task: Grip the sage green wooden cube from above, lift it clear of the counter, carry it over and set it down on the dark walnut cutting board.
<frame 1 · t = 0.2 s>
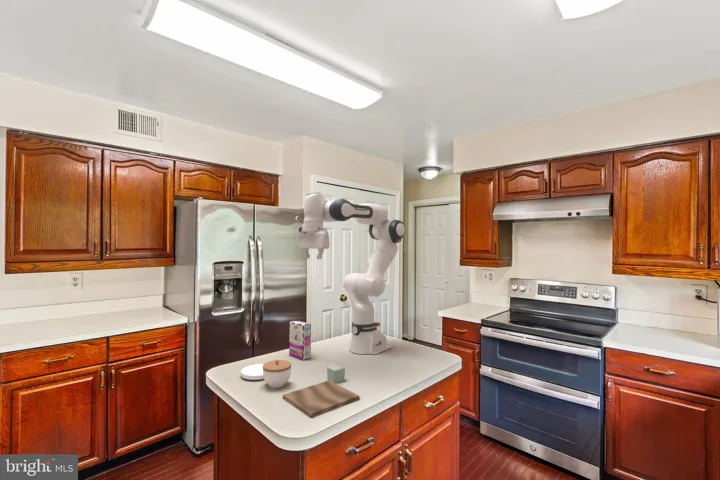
hand: (313, 258, 158), 47 cm above the worktop, tool pointing down, fingers open, 8 cm apart
lidded jar: (276, 385, 134), on the worktop
sage cube: (335, 380, 139), on the worktop
plastic lid: (258, 376, 144), on the worktop
cutting board: (320, 398, 122), on the worktop
candy bar box: (300, 357, 167), on the worktop
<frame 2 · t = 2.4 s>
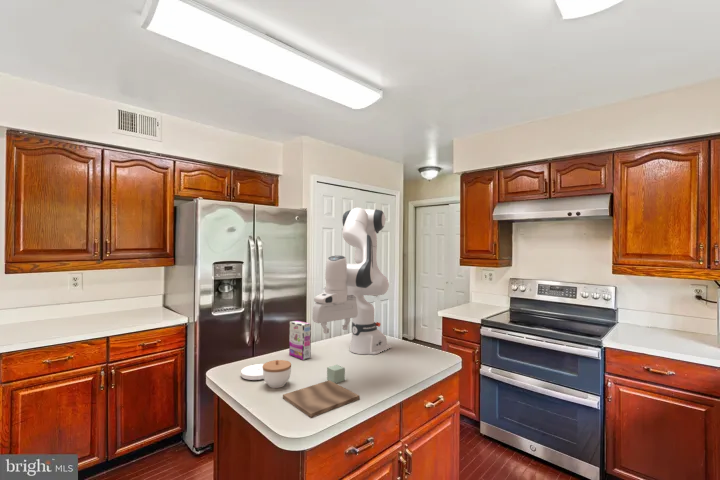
hand: (335, 331, 139), 19 cm above the worktop, tool pointing down, fingers open, 8 cm apart
nothing on the worktop moved.
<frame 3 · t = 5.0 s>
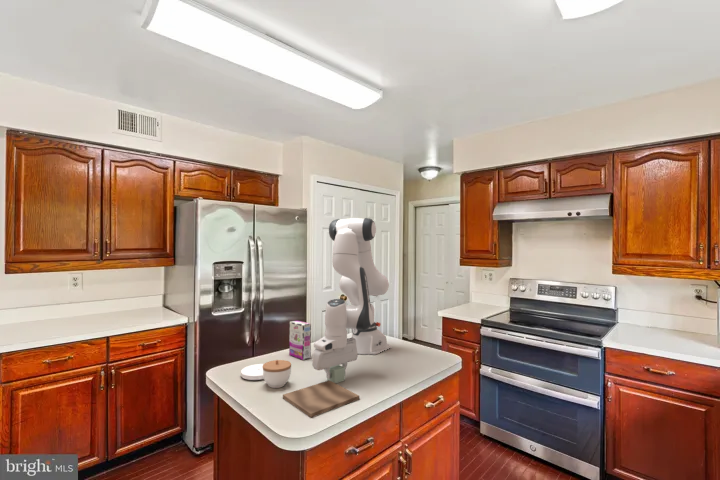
hand: (335, 375, 139), 2 cm above the worktop, tool pointing down, fingers closed on sage cube, 5 cm apart
sage cube: (335, 380, 139), on the worktop, touching gripper
everything else where it was.
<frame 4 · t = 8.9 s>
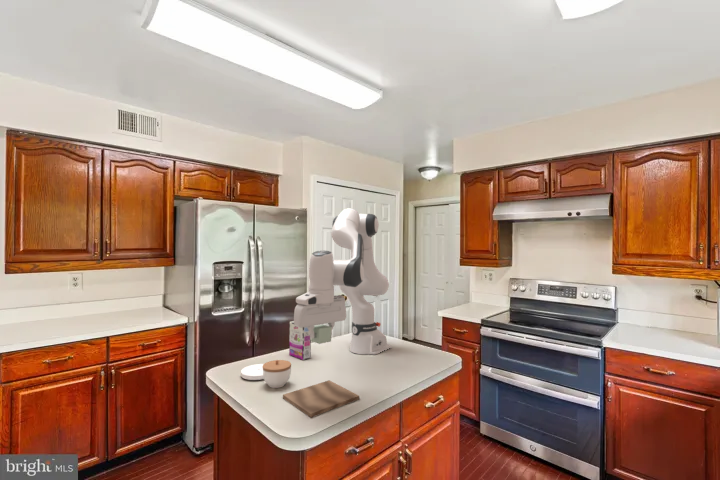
hand: (321, 336, 122), 22 cm above the worktop, tool pointing down, fingers closed on sage cube, 5 cm apart
sage cube: (321, 341, 122), point 20 cm above the worktop, touching gripper
everything else where it was.
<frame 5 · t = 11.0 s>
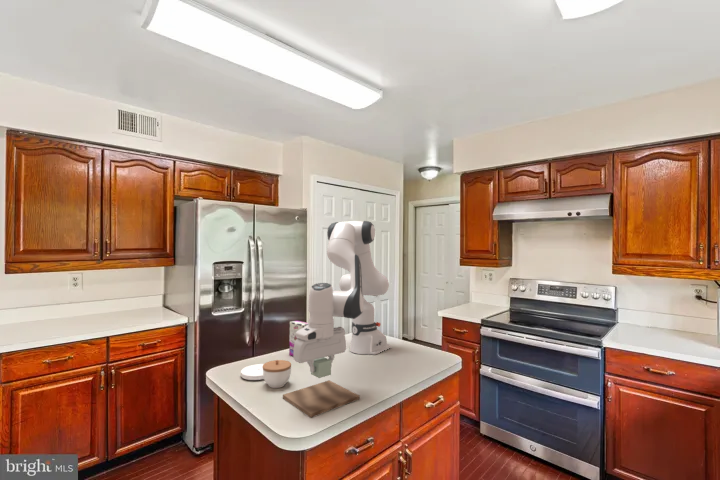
hand: (320, 369, 122), 10 cm above the worktop, tool pointing down, fingers closed on sage cube, 5 cm apart
sage cube: (321, 374, 122), point 8 cm above the worktop, touching gripper
everything else where it was.
when the fingers open (4 cm above the worktop, at t = 13.0 s): sage cube drops 2 cm, resting on cutting board.
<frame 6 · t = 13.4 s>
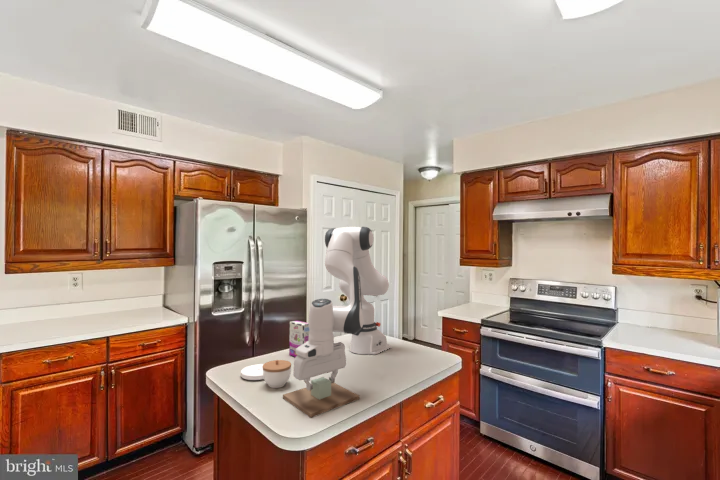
hand: (321, 386, 122), 4 cm above the worktop, tool pointing down, fingers open, 8 cm apart
sage cube: (321, 395, 122), point 1 cm above the worktop, touching cutting board
everything else where it was.
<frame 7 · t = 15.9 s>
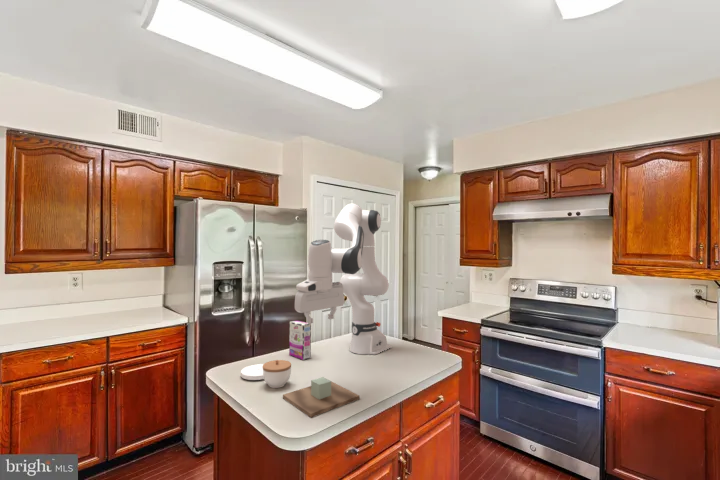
hand: (320, 321, 129), 26 cm above the worktop, tool pointing down, fingers open, 8 cm apart
nothing on the worktop moved.
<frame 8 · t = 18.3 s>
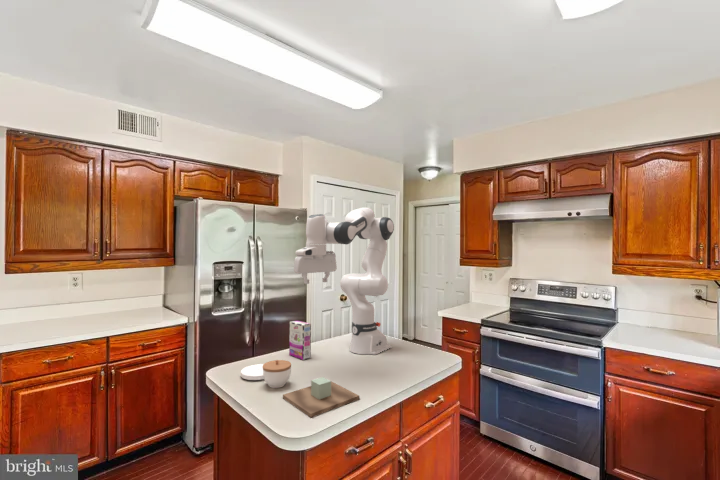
hand: (316, 282, 152), 37 cm above the worktop, tool pointing down, fingers open, 8 cm apart
nothing on the worktop moved.
at the end: sage cube inside the target area on the cutting board (0.1 cm from its centre), point 1.2 cm above the cutting board's base; sage cube touching cutting board; the gripper is holding nothing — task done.
